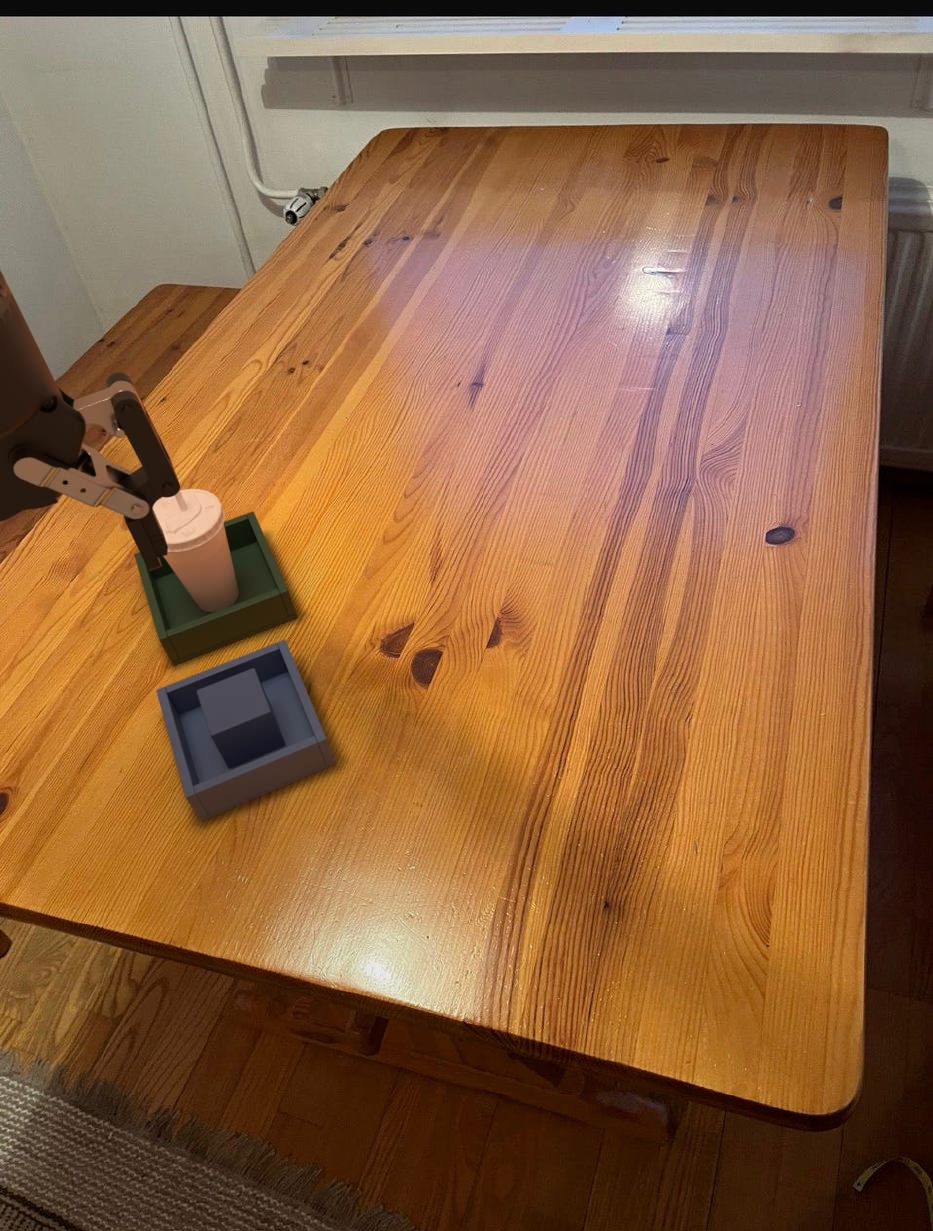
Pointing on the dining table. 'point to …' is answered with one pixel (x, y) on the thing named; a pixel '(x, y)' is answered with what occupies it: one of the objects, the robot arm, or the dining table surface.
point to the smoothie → (199, 547)
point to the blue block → (240, 718)
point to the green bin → (251, 613)
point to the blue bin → (230, 787)
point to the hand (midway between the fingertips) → (73, 587)
